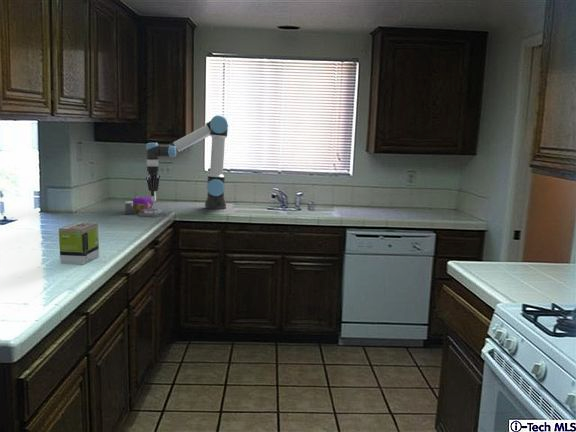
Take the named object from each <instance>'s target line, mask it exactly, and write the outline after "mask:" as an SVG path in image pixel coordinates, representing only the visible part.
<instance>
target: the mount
mask: <svg viewBox="0 0 576 432" xmlns="http://www.w3.org/2000/svg"><path fill="white" fill-rule="evenodd" d="M137 214H138V216H140V217H150V218H157V217H163V216H166V211H162V208H149V209H143V210H142V212H138V213H137Z"/></svg>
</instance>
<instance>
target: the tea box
mask: <svg viewBox="0 0 576 432" xmlns="http://www.w3.org/2000/svg"><path fill="white" fill-rule="evenodd" d="M58 242H59V259H60V260H59V261H60V264H61V265H77V266H78V265H79V266H80V265H85V264H87V263H89V262H91V261H93V260H94V259H96V258H98V257H100V248H99V247H100V245H99V243H100V241H99V224H98V222H97V223H96V222H73V223H71V224H68V225H65V226H63V227H60V228H58Z"/></svg>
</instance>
